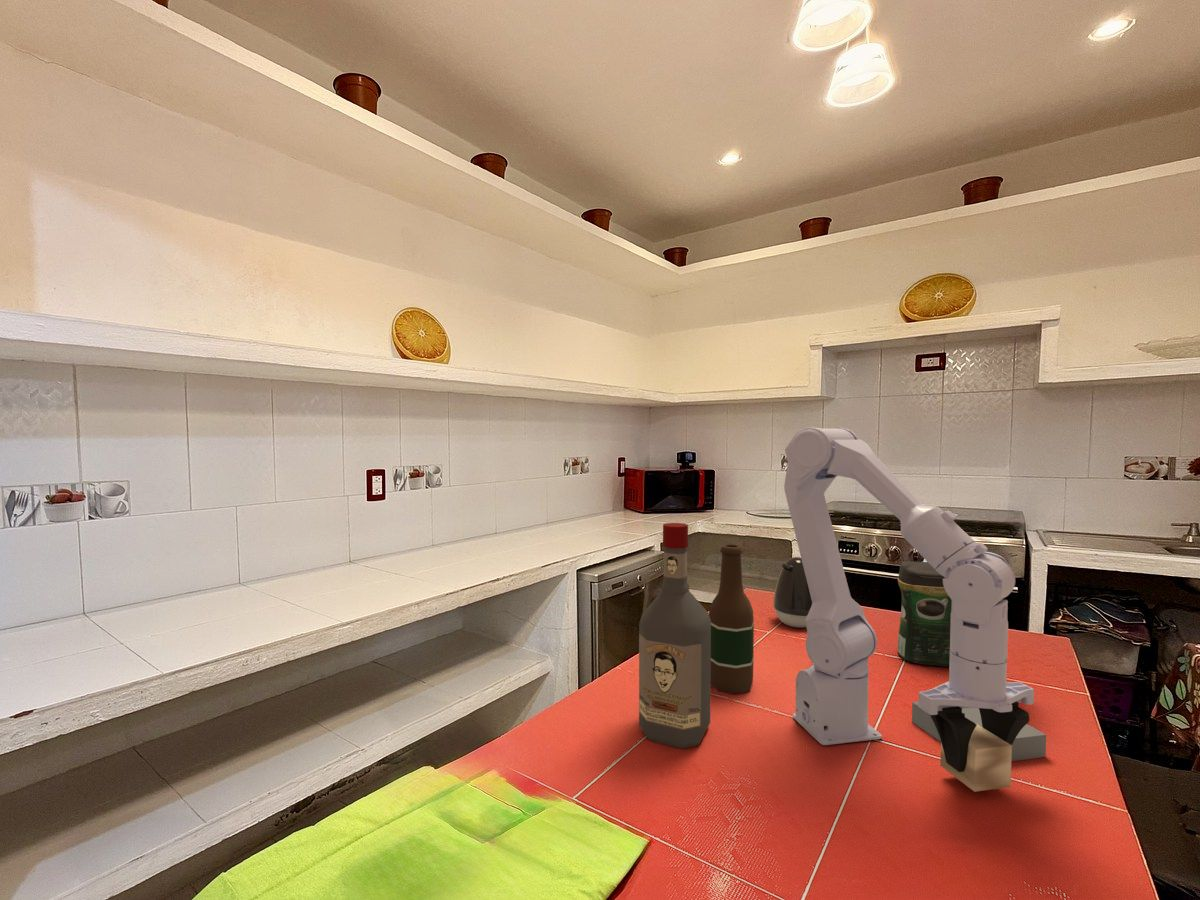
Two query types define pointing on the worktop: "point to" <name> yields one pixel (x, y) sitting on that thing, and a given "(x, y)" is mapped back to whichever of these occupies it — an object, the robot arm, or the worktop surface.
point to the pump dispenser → (792, 594)
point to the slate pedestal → (1023, 747)
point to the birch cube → (984, 762)
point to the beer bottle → (731, 628)
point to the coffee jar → (924, 615)
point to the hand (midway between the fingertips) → (974, 764)
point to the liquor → (675, 654)
